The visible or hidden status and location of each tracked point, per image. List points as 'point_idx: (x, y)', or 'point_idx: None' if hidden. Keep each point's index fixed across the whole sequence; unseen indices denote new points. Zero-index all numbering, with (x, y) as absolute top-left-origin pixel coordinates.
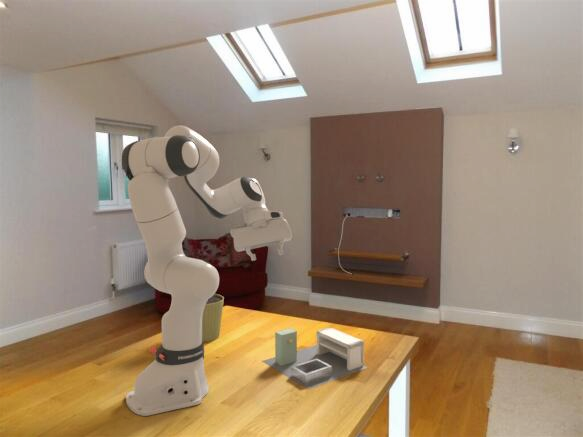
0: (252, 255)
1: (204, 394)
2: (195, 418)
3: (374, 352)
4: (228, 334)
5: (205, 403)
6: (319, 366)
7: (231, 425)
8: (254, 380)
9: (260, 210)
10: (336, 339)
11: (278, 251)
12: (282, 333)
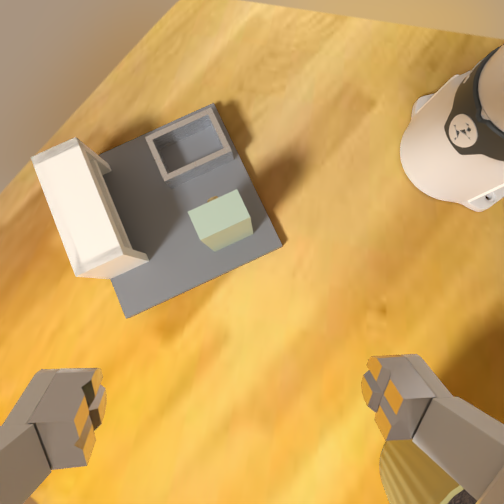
0: (425, 381)
1: (408, 126)
2: (418, 61)
3: (13, 262)
4: (351, 473)
5: (403, 104)
6: (167, 169)
7: (359, 33)
8: (307, 175)
9: None
10: (93, 181)
11: (88, 423)
12: (231, 202)
